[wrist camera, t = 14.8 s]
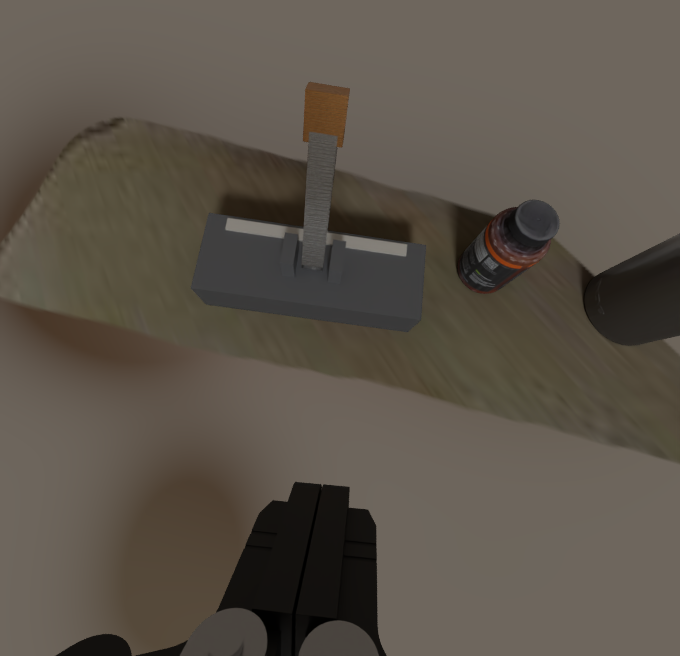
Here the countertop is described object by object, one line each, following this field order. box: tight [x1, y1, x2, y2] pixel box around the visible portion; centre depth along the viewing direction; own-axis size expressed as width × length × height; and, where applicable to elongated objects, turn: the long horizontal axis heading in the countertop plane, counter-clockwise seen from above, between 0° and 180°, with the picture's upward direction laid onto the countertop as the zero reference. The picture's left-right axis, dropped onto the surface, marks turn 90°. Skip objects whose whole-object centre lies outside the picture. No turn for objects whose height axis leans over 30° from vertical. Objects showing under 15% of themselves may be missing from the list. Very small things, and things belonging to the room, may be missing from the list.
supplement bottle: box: [458, 200, 559, 294], centre depth 36 cm, size 6×6×11 cm
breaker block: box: [191, 213, 426, 332], centre depth 36 cm, size 22×8×8 cm, turn 83°
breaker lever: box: [301, 82, 350, 271], centre depth 29 cm, size 3×2×15 cm
